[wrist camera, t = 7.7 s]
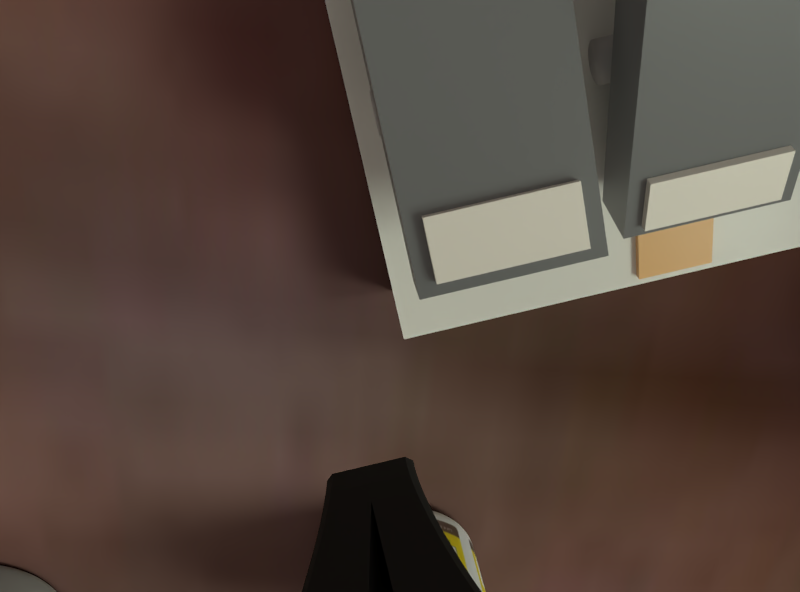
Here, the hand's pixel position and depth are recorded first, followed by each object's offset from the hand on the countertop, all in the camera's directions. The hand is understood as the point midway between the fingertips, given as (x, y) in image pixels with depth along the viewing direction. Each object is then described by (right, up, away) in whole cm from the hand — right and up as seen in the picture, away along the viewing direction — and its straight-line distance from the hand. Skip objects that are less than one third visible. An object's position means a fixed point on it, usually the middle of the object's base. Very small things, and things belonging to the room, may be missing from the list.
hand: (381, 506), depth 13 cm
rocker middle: (+7, +9, +4) cm, 12 cm away
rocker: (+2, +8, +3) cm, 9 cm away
